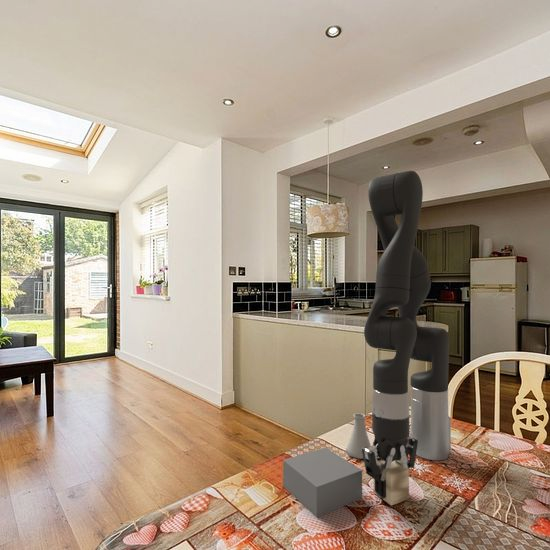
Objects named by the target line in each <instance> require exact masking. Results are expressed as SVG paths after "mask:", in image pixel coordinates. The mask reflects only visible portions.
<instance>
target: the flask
mask: <svg viewBox="0 0 550 550" xmlns="http://www.w3.org/2000/svg"><path fill="white" fill-rule="evenodd" d="M352 416H353V418H354V421H353V422H354V423H353V427H352V428H353V429H352V431H351V432H352V433H351V434H350V438H349V441H348V443H347V446H346V448H345V452H346V454H347V455H348V457H352V458H355V459H359V460H364V458H363V453H362V449H363V447H366V448H369V447H371V446H372V445H371V442H370V439H369V436H368V433H367V429H366V423H365V420H366V415H365V413H359V412H357V413H353V415H352Z"/></svg>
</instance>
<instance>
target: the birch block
mask: <svg viewBox="0 0 550 550" xmlns="http://www.w3.org/2000/svg"><path fill="white" fill-rule="evenodd" d="M381 461H382V462H384V463H385V461H384V460H381ZM381 469H382V468H381V467H380V468H379V472H381ZM385 480H386V498H383V499H382V498H381V497H380V496H378V495H377V493H376V492H375V479H373V493H374V494H375V495H376V496H378V498H380V499H382V500H383V501H384V502H386V503H387V504H388V505H390V506H394V505H397V504H400V503H402V502H405V501H407V500H409V499H410V468H409V469H407V468H406V467H402V466H401V465H400V464H399V463H397V462H394V461H393V462H391V466H390V469H389V470H387V472H386V478H385Z"/></svg>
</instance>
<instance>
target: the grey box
mask: <svg viewBox="0 0 550 550" xmlns="http://www.w3.org/2000/svg"><path fill="white" fill-rule="evenodd" d="M282 487H283V488H284V489H285V490H286V491H287V492H288V493H290V494H291V495H292V497H294V498H295V499H296V500H297V501H298V502H299V503H300V504H301V505H302V506H303V507H304V508H306V509H307V510H308V511H309V512H310V513H311V514H312V515H313V516H314V517H315V516H316V517H315V518H318V516H319V517H321V516H323V514H324V515H326V514H328V513H330V511H331V512H332V510H333V511H335V510H337V509H340V508H342V507H345V506H348V505H349V504H352V503H354V502H356V501H359V500H361V499H363V470H362V469H361V468H359V467H358V466H355V465H354V464H353V463H351V462H350V461H349V460H346V459H345V458H343V457H342V456H340V455H339V454H337V453H336V452H334V451H332V450H330V449H329V448H327V447H326V446H325V447H322V448H319V449H316V450H312V451H309V452H306V453H305V452H304V453H303V454H302V453H301V454H299V455H295V456H292V457H289V458H286V459H283V460H282Z"/></svg>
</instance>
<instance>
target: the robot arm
mask: <svg viewBox="0 0 550 550" xmlns="http://www.w3.org/2000/svg"><path fill="white" fill-rule="evenodd" d="M420 177H421V176H419V174H418V173H417V172H416V171H415V170H406V171H402V172H401V171H400V172H396V173H395V172H394V173H392V174H388V175H382V176H378V177H375V178H374V177H373V178H372V179H371V181H370V182H369V185H368V189H367V194H368V195H367V196H368V202H369V206H370V209H371V212H372V213H371V214H372V216H373V220H374V222H375V225H376V229H377V230H378V231H377V232H378V234H379V237H380V240H381V244H382V247H383V251H384V252H383V253H382V254H381V257H380V259H379V261H378V264H377V267H376V275H375V276H376V277H375V292H374V297H373V301H372V304H371V308H370V311H369V314H368V316H367V318H366V321H365V324H364V330H363V336H364V340H365V342H366V343H367V345H368V346H369V347H371V348H374V349H381V350H387V351H395V356H394V357H393V358H389V359H387V358H386V359H380V360H379V359H378V360H376V361H375V362H374V363H373V367H372V375H373V376H372V396H371V429H372V430H371V431H372V433H373V436H374V440H373V442H372V445H371V447H369V448H366V447H363V449H362V453H363V458H364V459H363V462H364V467H365V471H366V473H365V474H366V475H367V476H369V477H371V478H372V479H373V480H374V479H375V492H376V493H377V495H376V496H378V497H379V496H380V497H381V498H380V497H379V498H380V499H382V500H383V498H386V480H385V478H386V472H387V470H389V469H390V466H391V462H393V461H394V462H397V463H399V464H400V465H401V466H402V467H406V468H407V469H409V470H410V469H413V468H414V467H415V464H416V458H417V456H418V457H420V458H422V459H425V460H430V461H444V460H447V459H448V458H449V455H450V454H451V453H452V448H451V447H452V446H451V445H452V444H451V443H452V442H451V441H452V438H451V437H452V436H451V435H452V432H451V431H452V429H451V425H452V423H451V417H450V415H449V370H450V369H449V367H450V366H449V365H450V364H449V363H450V345H451V343H450V336H449V333H448V331H447V330H446V329H445V328H441V327H428V326H419V325H418V322H417V316H418V313H419V311H420V308H421V306H422V305H423V303H424V302H425V300H426V299H427V296H428V295H429V293H430V291H431V285H432V282H431V281H432V280H431V275H430V271H429V265H428V261H427V259H426V257H425V256H424V255H423V254H422V252H421V251H420V249H418V248H417V247H416V246H415V242H416V237H417V233H418V228H419V222H420V217H421V211H422V206H423V193H424V192H423V190H424V189H423V184H422V179H421V178H420ZM398 215H401V218H400V221H399V225H398V224H397V222H396V219H395V216H398ZM392 308H393V309H394V308H397V311H398V315H399V316H389V315H388V316H387V314H388V312H389V311H390V310H391V309H392ZM411 360H415V361H420V362H425V363H432V365H431V368H430V369H429V370H425V371H424V370H423V371H420V372H415V373H413V374H412V375H410V397H409V380H408V379H409V369H410V368H409V367H410V363H411ZM408 458H409V459H408ZM382 461H385V463H384V462H382ZM380 467H381V468H382V469H381V472H379V468H380Z"/></svg>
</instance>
